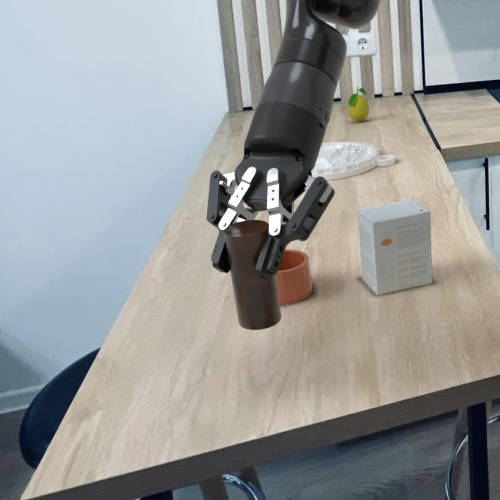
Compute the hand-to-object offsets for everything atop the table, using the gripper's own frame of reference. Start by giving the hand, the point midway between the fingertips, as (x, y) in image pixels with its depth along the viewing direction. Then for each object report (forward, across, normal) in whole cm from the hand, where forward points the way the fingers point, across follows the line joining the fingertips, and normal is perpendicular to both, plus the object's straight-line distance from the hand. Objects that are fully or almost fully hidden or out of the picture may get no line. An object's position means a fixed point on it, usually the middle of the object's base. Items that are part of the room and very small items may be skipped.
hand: (241, 272), depth 63 cm
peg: (+3, 0, +6) cm, 6 cm away
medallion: (-46, -32, +67) cm, 87 cm away
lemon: (-74, -44, +94) cm, 128 cm away
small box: (-11, +3, +32) cm, 33 cm away
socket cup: (-5, -10, +26) cm, 28 cm away
